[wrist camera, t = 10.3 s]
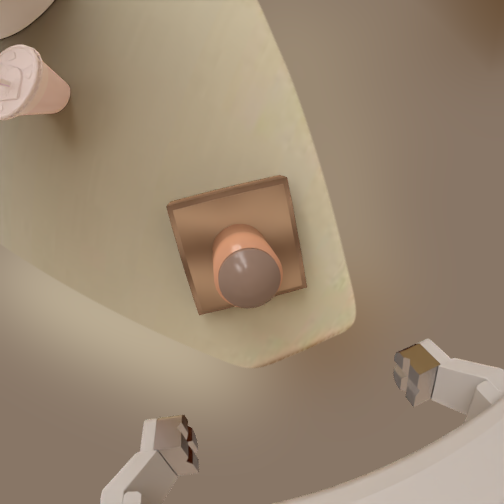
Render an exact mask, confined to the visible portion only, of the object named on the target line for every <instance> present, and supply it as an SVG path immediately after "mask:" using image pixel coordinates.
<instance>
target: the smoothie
mask: <svg viewBox="0 0 504 504" xmlns="http://www.w3.org/2000/svg"><path fill="white" fill-rule="evenodd" d="M69 98H70V87H69V85H68V84H67V83H66V82H65V81H64V80H63V79H62V78H61V77H60V76H59V75H57V74H56V73H55V72H54V71H53V70H52V69H51V68H50V67H49V66H48V65H46V64H45V63H44V62H43V61H42V58H41V56H40V54H39V52H38V51H36V50H35V49H34V48H32V47H29V46H27V45H23V44H18V45H13V46H11V47H9V48H7V49H5V50H4V51H2V52H1V53H0V120H8V119H12V118H14V117H16V116H20V115H33V114H53V113H57V112H59V111H61V110H62V109H63V108H64V107H65V106H66V105H67V103H68V101H69Z"/></svg>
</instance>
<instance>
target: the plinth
mask: <svg viewBox="0 0 504 504" xmlns="http://www.w3.org/2000/svg"><path fill="white" fill-rule="evenodd" d="M166 207H167V211H168V214H169V218H170V222H171V225H172V229H173V232H174V236H175V239H176V243H177V246H178V250H179V253H180V256H181V260H182V263H183V266H184V270H185V273H186V276H187V279H188V282H189V286H190V289H191V292H192V295H193V298H194V301H195V304H196V307H197V310H198V313H199V315H202V314H206V313H210V312H214V311H218V310H222V309H226V308H230V307H234V306H233V305H231V304H229V303H228V302H226V301H225V300H224V299H223V298H222V297H221V296H220V295H219V293H218V291H217V290H216V287H215V283H214V273H213V259H212V246H213V242H214V240H215V238H216V236H217V235H218V234H219V233H220V232H221V231H222V230H223V229H225V228H226V227H228V226H230V225H234V224H247V225H250V226H252V227H254V228H256V229H257V230H258V231H259V232H260V233H261V234H262V235H263V237H264V238H265V239H266V241H267V242H268V244H269V245H270V247H271V248H272V250H273V251H274V253H275V254H276V256H277V257H278V259H279V260H280V263H281V265H282V269H283V279H282V283H281V286H280V288H279V290H278V292H277V293H276V294H275V296H277V295H280V294H284V293H288V292H291V291H295V290H299V289H302V288H306V287H307V285H306V279H305V272H304V267H303V261H302V255H301V249H300V243H299V238H298V232H297V227H296V221H295V216H294V211H293V205H292V200H291V195H290V190H289V185H288V180H287V177H285V176H281V175H278V176H273V177H269V178H264V179H260V180H255V181H251V182H247V183H242V184H238V185H234V186H230V187H226V188H221V189H217V190H213V191H209V192H205V193H202V194H198V195H194V196H190V197H186V198H182V199H179V200H175V201H171V202H170V203H169V204H168V205H167V206H166Z"/></svg>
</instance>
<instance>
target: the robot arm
mask: <svg viewBox="0 0 504 504" xmlns="http://www.w3.org/2000/svg"><path fill="white" fill-rule="evenodd" d="M53 1H54V0H0V39H3V38H6V37H9V36H11V35H13V34H15V33H17V32H19V31H20V30H22V29H24V28H25V27H26V26H28V25H29V24H31V23H32V22H33V21H34V20H35V19H37V18H38V17H39V16H40V15H41V14H42V13H43V12H44V11H45V10H46V9H47V8H48V7H49V6H50V5H51V4H52V3H53ZM394 361H395V362H396V363H397V364H396V366H395V368H394V372H393V375H394V380H395V382H396V385H397V386H398V388H399V389H400V390H402V391H405V392H406V398H407V399H408V401H409V402H410V403H411V405H412V406H413V407H415V406H417V405H420V404H422V403H424V402H426V401H428V400H430V399H432V400H433V401H435V402H437V403H440V404H442V405H445V406H447V407H449V408H451V409H454V410H456V411H459V412H461V413H463V414H466V415H467V416H466V418H465V421H464V423H463V425H461V426H460V427H458V428H456V429H455V430H453V431H451V432H450V433H448V434H446V435H445V436H443V437H441V438H440V439H438V440H436V441H434V442H432V443H431V444H429V445H427V446H425V447H423V448H422V449H419V450H417V451H416V452H414V453H412V454H410V455H408V456H406V457H403V458H401V459H400V460H397V461H395V462H393V463H391V464H389V465H386V466H384V467H382V468H380V469H377V470H375V471H372V472H370V473H368V474H365V475H363V476H360V477H357V478H355V479H352V480H350V481H347V482H344V483H341V484H338V485H336V486H333V487H330V488H327V489H324V490H321V491H318V492H314V493H311V494H307V495H304V496H301V497H297V498H293V499H289V500H285V501H281V502H277V503H273V504H504V370H503V369H501V368H497V367H492V366H488V365H483V364H479V363H475V362H470V361H465V360H462V359H457V358H453V359H451V358H450V357H449V356H447V354H445V353H444V352H443V351H442V350H441V349H440V348H439V347H438V346H437V345H436V344H435V343H434V342H432V341H431V340H430V339H425V340H423V341H421V342H419V343H417V344H414V345H412V346H410V347H408V348H405V349H403V350H401V351H398V352H396V354H395V357H394ZM197 451H198V443H197V439H196V435H195V433H194V431H193V429H192V428H191V427H189V426H188V420H187V418H186V417H185V415H177V416H169V417H162V418H155V419H146V420H145V422H144V425H143V432H142V439H141V447H140V452H136V453H135V455H134V456H133V457H132V458H131V459H130V460H129V461H128V462H127V464H126V465H125V466H124V467H123V468H122V469H121V470H120V471H119V472H118V474H117V475H116V476H115V477H114V478H113V479H112V480H111V481H110V483H108V485H107V486H106V487H105V488H104V489H103V490H102V495H101V500H100V504H162V503H163V501H164V499H165V498H166V496H167V495H168V493H169V491H170V490H171V488H172V486H173V485H174V483H175V481H176V480H177V478H178V477H177V476H181V475H189V474H195V473H199V461H198V458H197V456H196V455H195V454H196V452H197Z"/></svg>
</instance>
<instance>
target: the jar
mask: <svg viewBox="0 0 504 504" xmlns="http://www.w3.org/2000/svg"><path fill="white" fill-rule="evenodd" d="M212 259H213V273H214V283H215V287H216V290H217V291H218V293H219V295H220V296H221V297H222V298H223V299H224V300H225V301H226V302H228V303H229V304H231V305H233V306H236V307H241V308H254V307H258V306H261V305H263V304H265V303H267V302H268V301H269V300H271V299H272V298H273V297H274V296H275V294H276V293H277V292H278V290H279V288H280V286H281V283H282V279H283V269H282V265H281V263H280V260H279V259H278V257H277V256H276V254H275V253H274V251H273V250H272V248H271V247H270V245H269V244H268V242H267V241H266V239H265V238H264V237H263V235H262V234H261V233H260V232H259V231H258V230H257V229H256V228H254V227H252V226H250V225H247V224H234V225H230V226H228V227H226V228H225V229H223V230H222V231H221V232H220V233H219V234H218V235H217V236H216V238H215V240H214V242H213V246H212Z"/></svg>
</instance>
